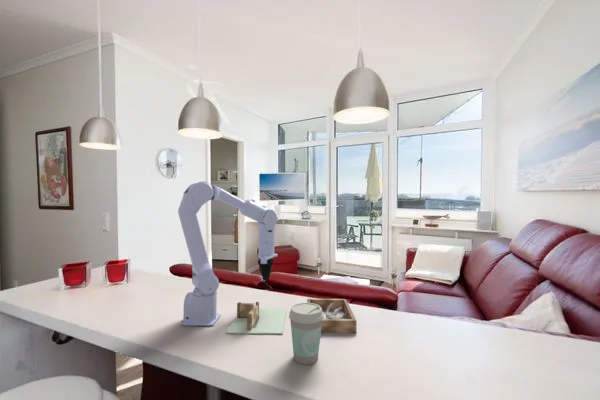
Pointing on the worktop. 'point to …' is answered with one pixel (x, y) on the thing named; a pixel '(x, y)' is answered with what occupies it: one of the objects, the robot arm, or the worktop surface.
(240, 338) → the worktop surface
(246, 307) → the fixed rail
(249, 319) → the rail
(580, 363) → the worktop surface
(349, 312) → the box
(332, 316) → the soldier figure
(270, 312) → the mat
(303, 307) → the coffee cup
